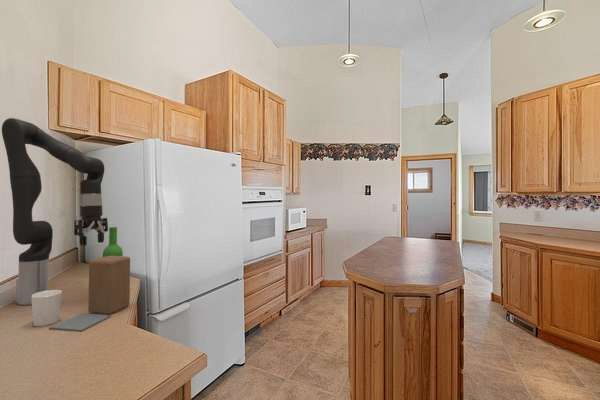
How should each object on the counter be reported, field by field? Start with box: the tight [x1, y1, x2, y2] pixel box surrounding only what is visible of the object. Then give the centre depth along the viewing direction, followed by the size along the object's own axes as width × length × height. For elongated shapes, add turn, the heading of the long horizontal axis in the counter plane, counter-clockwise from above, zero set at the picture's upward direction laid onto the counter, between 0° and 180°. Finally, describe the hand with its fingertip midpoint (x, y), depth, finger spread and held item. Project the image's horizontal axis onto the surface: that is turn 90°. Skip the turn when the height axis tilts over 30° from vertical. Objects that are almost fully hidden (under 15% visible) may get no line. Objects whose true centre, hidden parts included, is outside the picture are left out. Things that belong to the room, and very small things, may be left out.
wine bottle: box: [102, 226, 124, 257], centre depth 131 cm, size 8×8×30 cm
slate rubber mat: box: [48, 313, 112, 333], centre depth 99 cm, size 12×12×1 cm
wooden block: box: [87, 256, 131, 315], centre depth 112 cm, size 10×10×20 cm
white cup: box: [31, 289, 63, 327], centre depth 100 cm, size 8×8×10 cm
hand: (92, 243), depth 120 cm, fingers open, 8 cm apart
